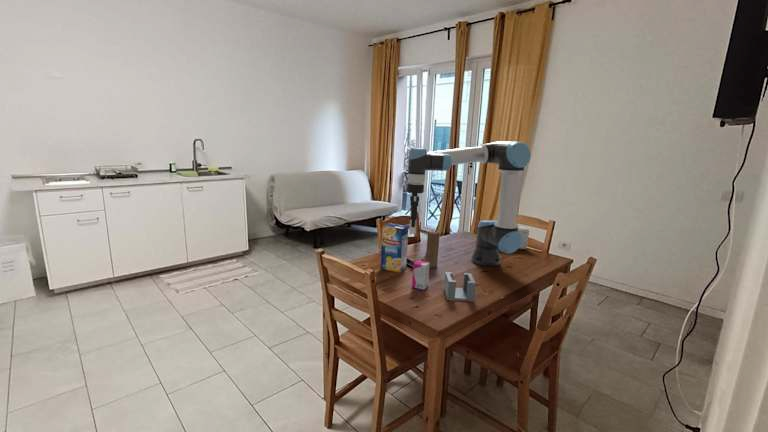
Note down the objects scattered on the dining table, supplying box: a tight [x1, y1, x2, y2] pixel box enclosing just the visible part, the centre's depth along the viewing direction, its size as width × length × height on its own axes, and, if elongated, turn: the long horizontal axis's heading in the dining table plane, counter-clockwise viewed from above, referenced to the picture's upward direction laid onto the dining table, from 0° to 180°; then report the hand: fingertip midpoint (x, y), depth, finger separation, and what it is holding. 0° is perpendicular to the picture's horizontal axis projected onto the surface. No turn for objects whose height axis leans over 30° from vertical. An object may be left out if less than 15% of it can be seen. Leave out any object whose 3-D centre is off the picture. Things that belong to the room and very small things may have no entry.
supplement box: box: [411, 259, 430, 291], centre depth 161 cm, size 6×6×12 cm
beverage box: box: [380, 222, 410, 273], centre depth 182 cm, size 7×11×22 cm, turn 62°
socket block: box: [443, 271, 477, 302], centre depth 155 cm, size 11×11×8 cm
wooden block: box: [419, 230, 441, 270], centre depth 187 cm, size 9×4×18 cm, turn 135°
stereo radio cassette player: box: [516, 216, 530, 250], centre depth 227 cm, size 21×8×20 cm, turn 90°
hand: (412, 230), depth 167 cm, fingers open, 13 cm apart
